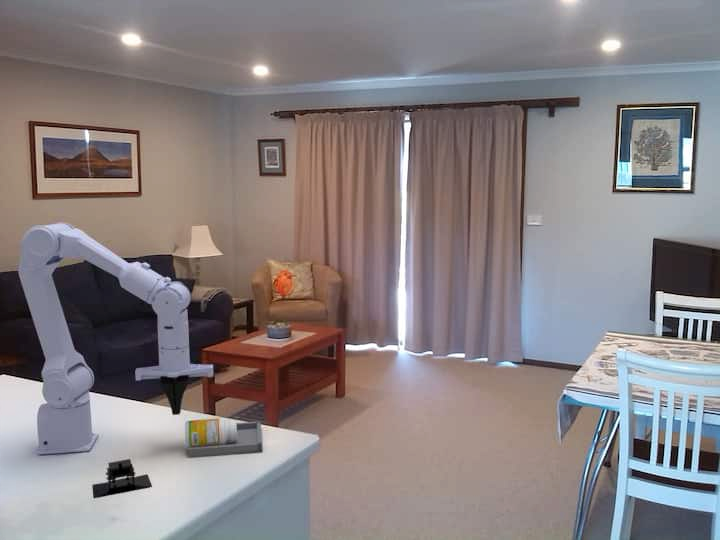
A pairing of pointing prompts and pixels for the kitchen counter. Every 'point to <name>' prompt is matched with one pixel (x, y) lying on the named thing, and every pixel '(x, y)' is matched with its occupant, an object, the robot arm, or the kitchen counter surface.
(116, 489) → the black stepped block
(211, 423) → the supplement bottle
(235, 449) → the gray tray
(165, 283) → the robot arm
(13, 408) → the kitchen counter surface
